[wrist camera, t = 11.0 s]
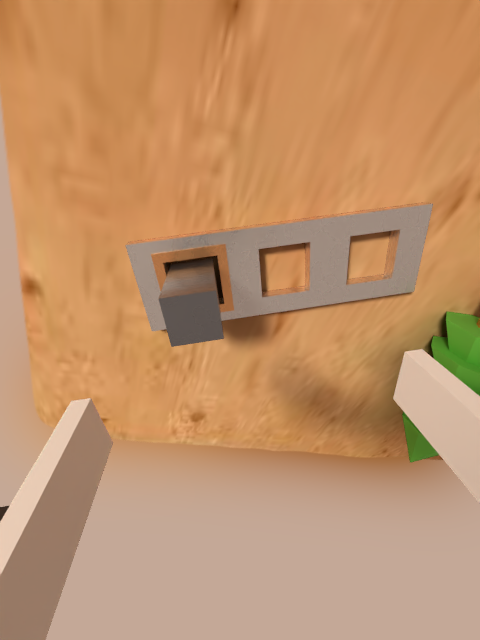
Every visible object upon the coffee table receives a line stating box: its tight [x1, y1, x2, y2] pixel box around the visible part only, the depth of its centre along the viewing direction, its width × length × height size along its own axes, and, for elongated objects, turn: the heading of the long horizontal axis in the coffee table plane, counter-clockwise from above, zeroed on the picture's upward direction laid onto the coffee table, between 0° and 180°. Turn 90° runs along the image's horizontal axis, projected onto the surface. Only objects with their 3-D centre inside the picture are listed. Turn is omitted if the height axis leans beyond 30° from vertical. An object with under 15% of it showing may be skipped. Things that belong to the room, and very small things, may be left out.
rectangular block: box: [158, 257, 224, 347], centre depth 26 cm, size 4×4×10 cm
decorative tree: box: [402, 312, 480, 462], centre depth 37 cm, size 11×12×30 cm
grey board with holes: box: [126, 202, 433, 331], centre depth 31 cm, size 10×32×2 cm, turn 96°
